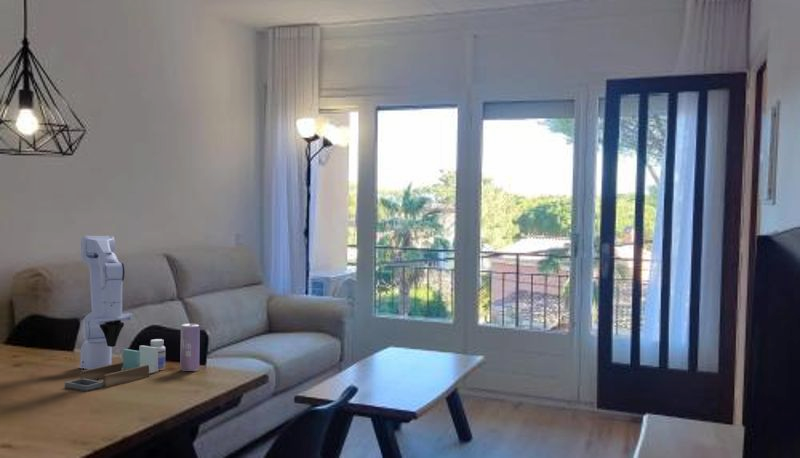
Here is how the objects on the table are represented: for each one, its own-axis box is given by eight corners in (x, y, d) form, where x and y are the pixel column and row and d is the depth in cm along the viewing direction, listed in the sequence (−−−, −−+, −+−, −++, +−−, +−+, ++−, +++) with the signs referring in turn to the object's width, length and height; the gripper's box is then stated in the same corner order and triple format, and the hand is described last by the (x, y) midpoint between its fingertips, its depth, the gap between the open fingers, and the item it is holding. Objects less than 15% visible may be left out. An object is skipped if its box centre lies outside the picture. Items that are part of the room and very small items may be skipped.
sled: (121, 373, 210) (121, 349, 210) (141, 368, 217) (142, 345, 217) (137, 376, 207) (138, 351, 207) (157, 371, 214) (158, 347, 214)
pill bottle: (144, 369, 217) (144, 340, 217) (157, 366, 222) (157, 337, 221) (155, 372, 214) (155, 342, 214) (168, 368, 219) (169, 339, 219)
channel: (80, 382, 199) (80, 371, 199) (124, 372, 213) (124, 361, 213) (106, 387, 194) (106, 375, 194) (148, 376, 208) (149, 365, 208)
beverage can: (202, 368, 220) (202, 323, 220) (194, 372, 215) (195, 326, 214) (184, 367, 221) (185, 323, 221) (177, 371, 215) (177, 325, 215)
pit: (64, 387, 193) (64, 382, 193) (82, 383, 198) (82, 378, 198) (85, 391, 189) (86, 386, 189) (103, 387, 194) (103, 382, 194)
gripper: (101, 305, 194) (100, 351, 195) (140, 300, 207) (139, 343, 208) (84, 303, 197) (84, 349, 198) (124, 298, 210) (123, 341, 211)
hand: (111, 346), depth 203 cm, fingers closed
